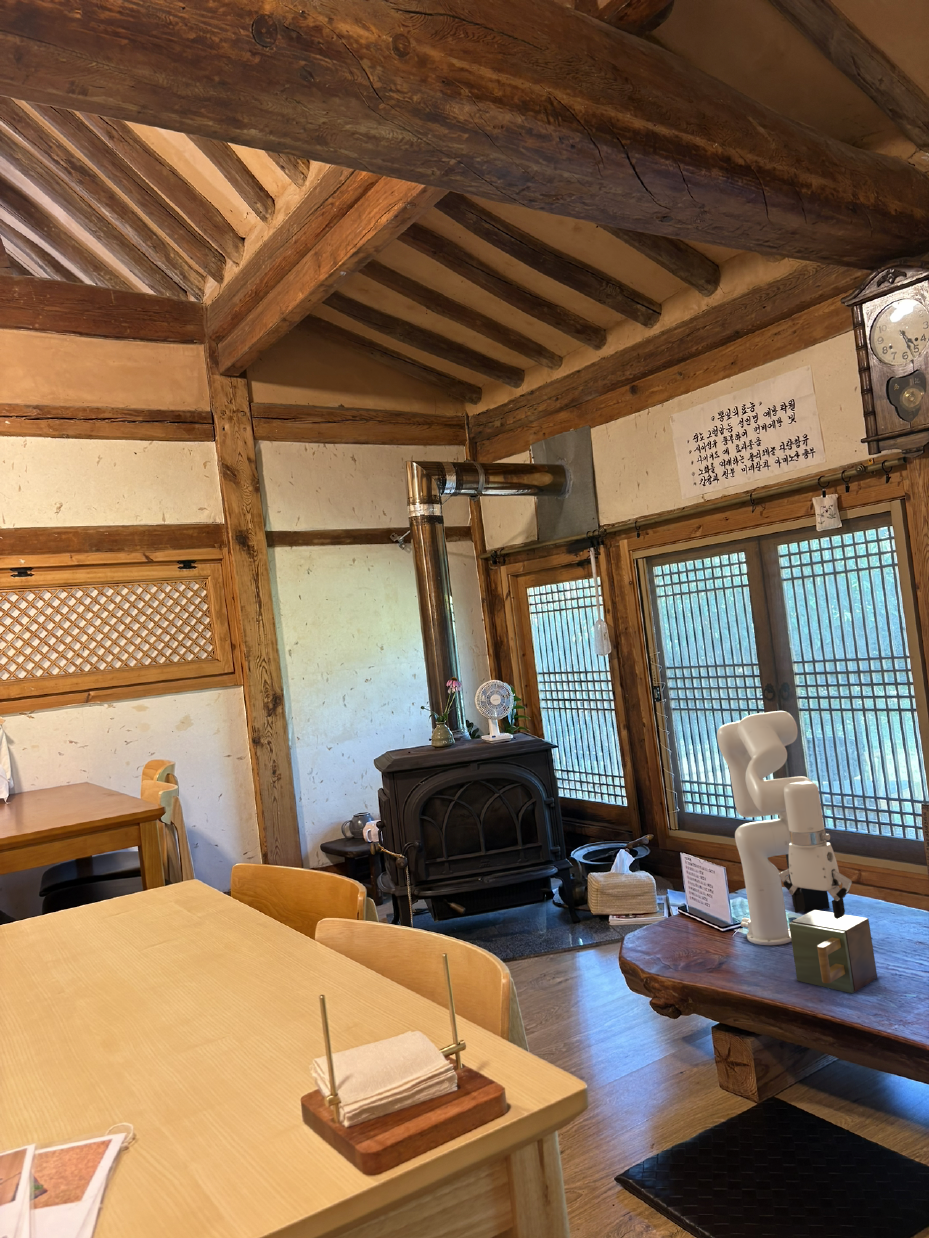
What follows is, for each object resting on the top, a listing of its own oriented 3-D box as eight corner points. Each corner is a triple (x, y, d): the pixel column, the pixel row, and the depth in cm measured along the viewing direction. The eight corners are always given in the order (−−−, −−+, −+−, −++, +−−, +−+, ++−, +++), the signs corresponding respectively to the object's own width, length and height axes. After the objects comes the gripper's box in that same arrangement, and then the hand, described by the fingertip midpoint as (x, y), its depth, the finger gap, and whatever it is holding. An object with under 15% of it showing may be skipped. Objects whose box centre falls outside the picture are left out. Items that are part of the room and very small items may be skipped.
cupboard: (855, 992, 204) (846, 930, 205) (800, 979, 215) (791, 921, 216) (877, 978, 210) (868, 918, 211) (822, 966, 221) (814, 909, 222)
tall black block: (792, 905, 270) (779, 813, 271) (817, 901, 271) (803, 809, 272) (804, 913, 262) (790, 817, 263) (830, 908, 263) (816, 813, 264)
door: (835, 1004, 199) (826, 942, 200) (780, 990, 210) (771, 931, 211) (854, 992, 204) (845, 931, 204) (799, 979, 215) (791, 922, 215)
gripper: (852, 836, 198) (864, 914, 197) (783, 831, 212) (794, 904, 211) (834, 844, 193) (846, 924, 192) (765, 838, 207) (776, 913, 206)
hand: (819, 913), depth 202 cm, fingers open, 9 cm apart
